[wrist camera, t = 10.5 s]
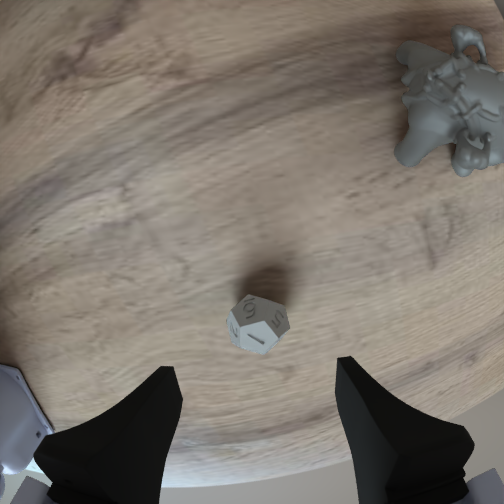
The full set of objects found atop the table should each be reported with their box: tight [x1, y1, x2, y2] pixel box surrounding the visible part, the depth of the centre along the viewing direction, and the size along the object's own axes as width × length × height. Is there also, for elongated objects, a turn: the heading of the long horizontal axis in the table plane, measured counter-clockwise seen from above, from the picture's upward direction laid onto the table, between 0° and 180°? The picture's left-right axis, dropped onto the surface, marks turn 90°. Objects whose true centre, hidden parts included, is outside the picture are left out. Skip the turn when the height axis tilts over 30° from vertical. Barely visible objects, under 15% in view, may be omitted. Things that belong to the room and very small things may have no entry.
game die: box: [227, 294, 290, 354], centre depth 18 cm, size 4×4×3 cm
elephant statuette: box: [394, 25, 504, 177], centre depth 11 cm, size 9×12×8 cm
